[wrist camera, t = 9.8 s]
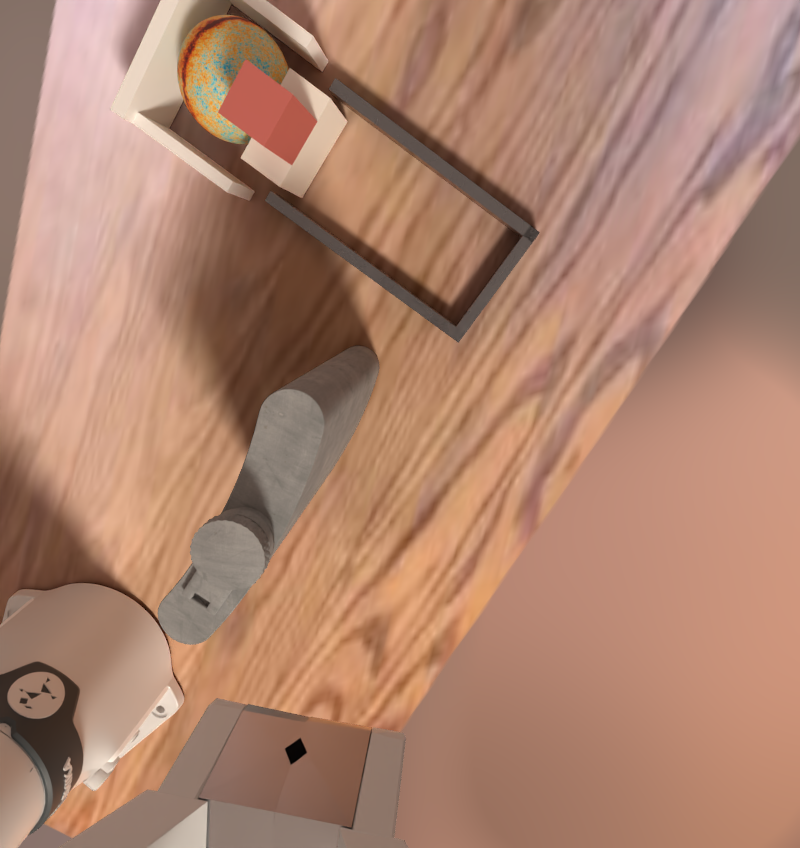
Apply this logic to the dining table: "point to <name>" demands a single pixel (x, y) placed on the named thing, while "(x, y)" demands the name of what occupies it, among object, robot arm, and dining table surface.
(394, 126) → the dark grey rectangular frame
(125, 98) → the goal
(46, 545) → the dining table surface
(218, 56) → the ball
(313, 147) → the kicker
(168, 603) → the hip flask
